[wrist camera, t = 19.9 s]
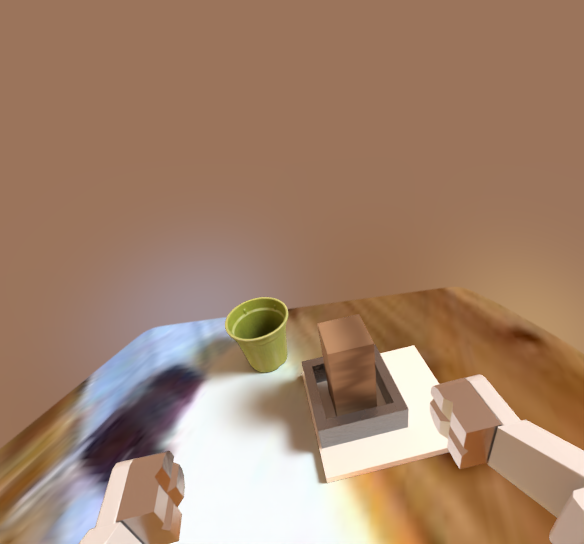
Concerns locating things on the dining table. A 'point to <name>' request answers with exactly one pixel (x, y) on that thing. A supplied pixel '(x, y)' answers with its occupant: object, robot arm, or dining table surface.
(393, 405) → the steel collar
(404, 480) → the dining table surface
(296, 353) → the dining table surface
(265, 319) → the plant pot
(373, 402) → the walnut post
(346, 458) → the base plate
